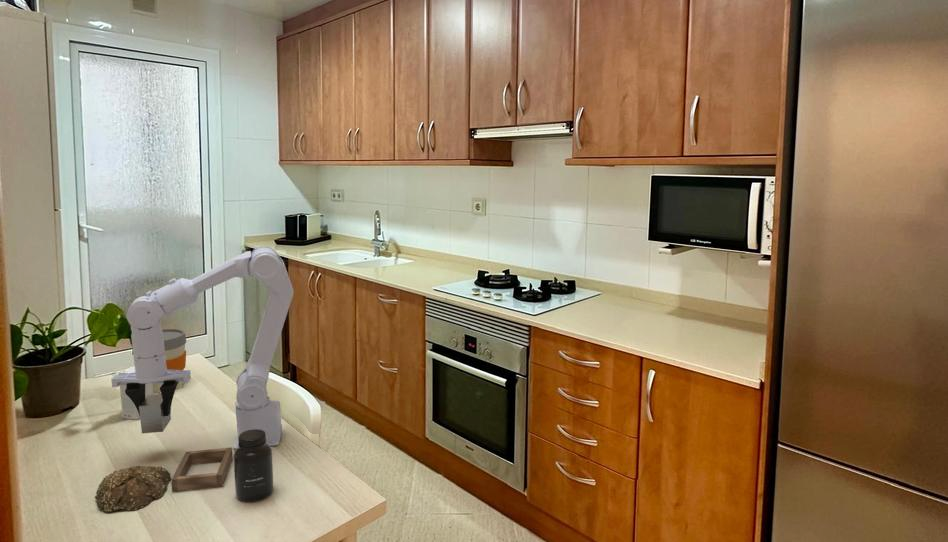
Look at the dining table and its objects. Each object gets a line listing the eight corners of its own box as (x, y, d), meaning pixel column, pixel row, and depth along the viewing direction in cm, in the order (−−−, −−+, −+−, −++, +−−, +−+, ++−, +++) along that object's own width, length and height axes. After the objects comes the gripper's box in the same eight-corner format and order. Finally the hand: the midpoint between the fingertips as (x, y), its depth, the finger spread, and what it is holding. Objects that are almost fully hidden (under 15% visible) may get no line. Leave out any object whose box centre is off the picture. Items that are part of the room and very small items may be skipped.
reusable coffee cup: (183, 374, 168) (179, 326, 166) (195, 387, 159) (190, 336, 156) (135, 385, 161) (129, 333, 158) (144, 399, 151) (138, 345, 148)
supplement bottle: (251, 507, 105) (247, 447, 102) (228, 495, 108) (223, 437, 106) (281, 489, 110) (278, 432, 108) (258, 479, 114) (255, 423, 112)
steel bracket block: (151, 420, 124) (148, 394, 123) (171, 419, 125) (168, 393, 124) (141, 433, 118) (138, 406, 117) (162, 431, 119) (160, 404, 118)
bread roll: (103, 483, 113) (100, 460, 112) (173, 472, 117) (171, 449, 116) (86, 521, 101) (82, 495, 100) (165, 507, 105) (162, 482, 104)
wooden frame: (232, 458, 122) (232, 447, 121) (222, 486, 111) (221, 474, 111) (187, 462, 120) (186, 451, 119) (172, 491, 109) (171, 479, 109)
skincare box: (137, 420, 139) (132, 373, 137) (122, 418, 140) (117, 372, 138) (155, 410, 145) (151, 365, 143) (141, 408, 146) (136, 363, 143)
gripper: (192, 345, 124) (197, 404, 126) (117, 350, 121) (124, 410, 123) (183, 356, 117) (189, 418, 120) (104, 361, 114) (112, 424, 116)
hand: (155, 415), depth 121 cm, fingers closed on steel bracket block, 4 cm apart
